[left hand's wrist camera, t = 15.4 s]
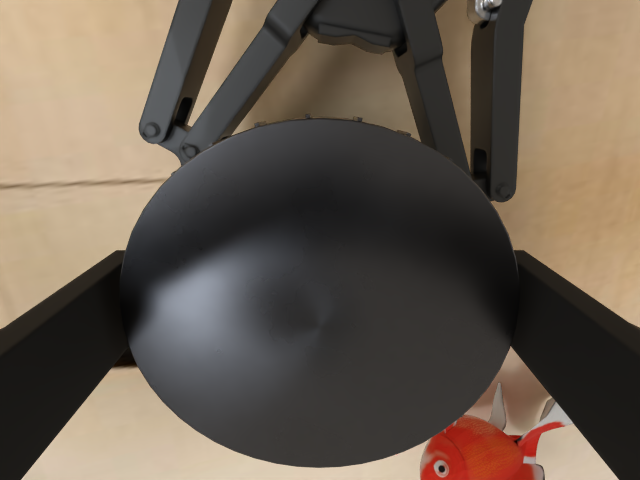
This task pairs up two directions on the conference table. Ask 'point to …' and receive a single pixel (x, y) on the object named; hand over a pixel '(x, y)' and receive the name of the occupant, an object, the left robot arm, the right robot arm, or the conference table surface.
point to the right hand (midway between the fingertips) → (307, 296)
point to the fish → (488, 447)
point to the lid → (319, 292)
